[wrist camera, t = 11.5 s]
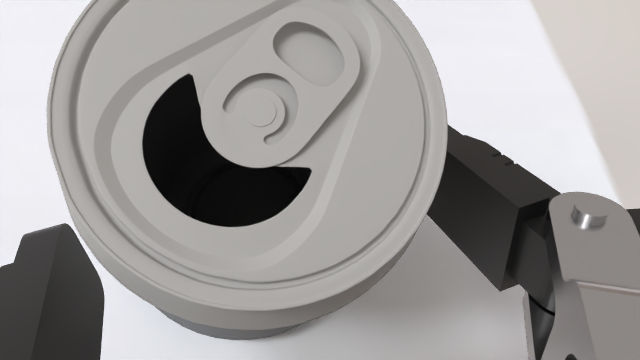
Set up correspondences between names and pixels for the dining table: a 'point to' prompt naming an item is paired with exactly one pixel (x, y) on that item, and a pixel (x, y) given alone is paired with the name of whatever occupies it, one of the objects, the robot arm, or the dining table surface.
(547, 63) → the dining table surface
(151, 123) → the beverage can
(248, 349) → the dining table surface
